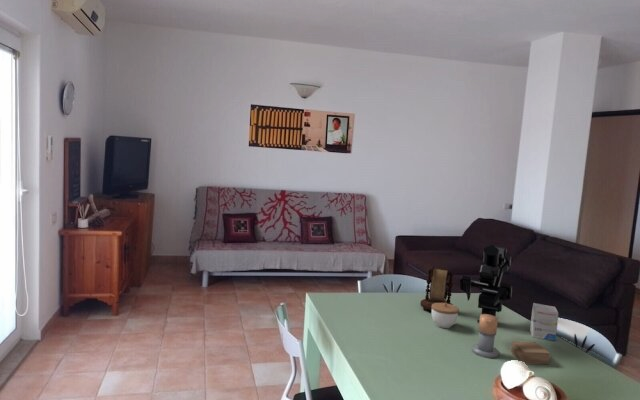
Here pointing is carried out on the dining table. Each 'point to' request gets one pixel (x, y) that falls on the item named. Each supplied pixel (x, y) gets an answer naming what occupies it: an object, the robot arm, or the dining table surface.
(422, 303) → the scroll
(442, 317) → the lidded jar
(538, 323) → the ink box
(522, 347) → the stand
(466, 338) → the dining table surface
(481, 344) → the grey pedestal post
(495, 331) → the cap
